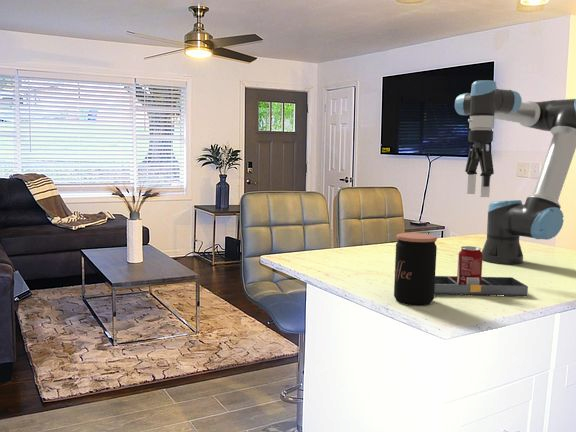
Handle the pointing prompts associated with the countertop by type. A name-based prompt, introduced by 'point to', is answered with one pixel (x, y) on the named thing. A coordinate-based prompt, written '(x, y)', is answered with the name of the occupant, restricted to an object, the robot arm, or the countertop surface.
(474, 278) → the soda can
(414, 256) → the coffee jar
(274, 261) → the countertop surface
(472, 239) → the countertop surface
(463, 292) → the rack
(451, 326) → the countertop surface
